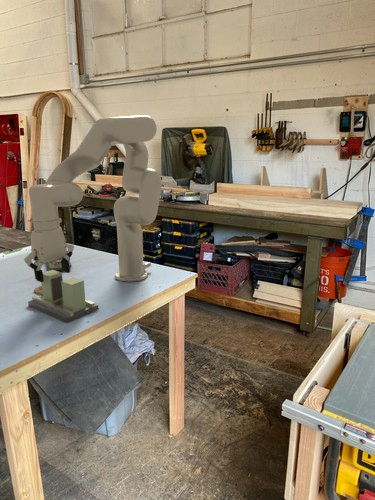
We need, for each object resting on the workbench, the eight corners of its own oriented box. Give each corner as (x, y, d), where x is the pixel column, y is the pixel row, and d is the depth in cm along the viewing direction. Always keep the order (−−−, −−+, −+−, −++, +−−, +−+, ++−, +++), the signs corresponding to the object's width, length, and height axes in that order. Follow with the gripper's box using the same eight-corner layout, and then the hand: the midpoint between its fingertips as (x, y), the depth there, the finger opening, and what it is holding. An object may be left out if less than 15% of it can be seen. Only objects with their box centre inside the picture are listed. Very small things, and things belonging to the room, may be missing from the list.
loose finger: (55, 294, 126) (52, 269, 124) (65, 299, 123) (63, 273, 120) (43, 299, 123) (40, 273, 120) (53, 303, 120) (50, 277, 117)
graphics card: (39, 256, 164) (68, 252, 169) (40, 264, 165) (68, 260, 170) (42, 267, 150) (73, 263, 154) (43, 276, 151) (74, 271, 155)
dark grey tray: (60, 294, 131) (59, 287, 130) (98, 309, 120) (98, 301, 119) (28, 305, 122) (27, 298, 121) (67, 323, 110) (66, 314, 109)
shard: (58, 283, 142) (57, 279, 142) (72, 287, 138) (71, 283, 138) (33, 292, 133) (32, 288, 133) (47, 297, 129) (46, 292, 129)
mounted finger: (74, 303, 120) (72, 276, 118) (85, 307, 117) (83, 280, 115) (62, 307, 117) (59, 280, 114) (73, 312, 114) (71, 284, 111)
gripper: (62, 218, 125) (68, 266, 130) (13, 229, 112) (22, 282, 117) (77, 221, 121) (82, 270, 126) (27, 232, 107) (36, 287, 113)
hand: (53, 276), depth 121 cm, fingers open, 9 cm apart
